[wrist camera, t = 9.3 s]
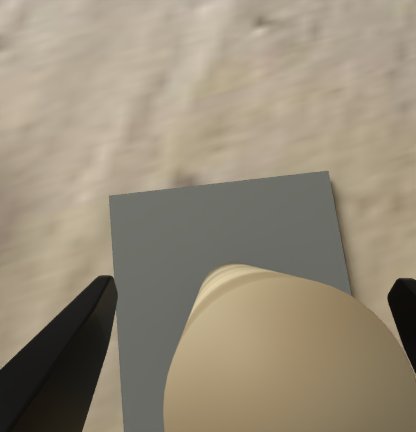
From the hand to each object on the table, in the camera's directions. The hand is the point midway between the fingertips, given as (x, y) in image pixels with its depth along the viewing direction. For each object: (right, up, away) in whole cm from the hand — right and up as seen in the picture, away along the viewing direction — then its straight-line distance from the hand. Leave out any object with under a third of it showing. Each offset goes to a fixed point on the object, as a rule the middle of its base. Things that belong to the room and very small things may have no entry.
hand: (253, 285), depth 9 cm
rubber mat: (0, -3, +9) cm, 9 cm away
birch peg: (0, -3, +8) cm, 8 cm away
